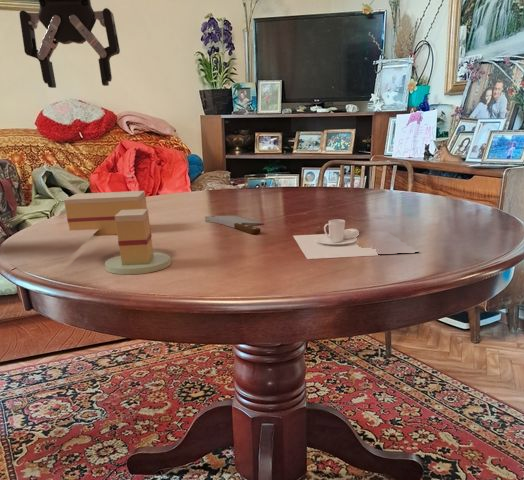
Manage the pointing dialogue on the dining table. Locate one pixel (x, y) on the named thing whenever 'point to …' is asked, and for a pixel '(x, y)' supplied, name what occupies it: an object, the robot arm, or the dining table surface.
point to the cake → (101, 209)
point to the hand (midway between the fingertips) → (78, 86)
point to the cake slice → (134, 236)
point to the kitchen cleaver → (236, 223)
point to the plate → (138, 265)
